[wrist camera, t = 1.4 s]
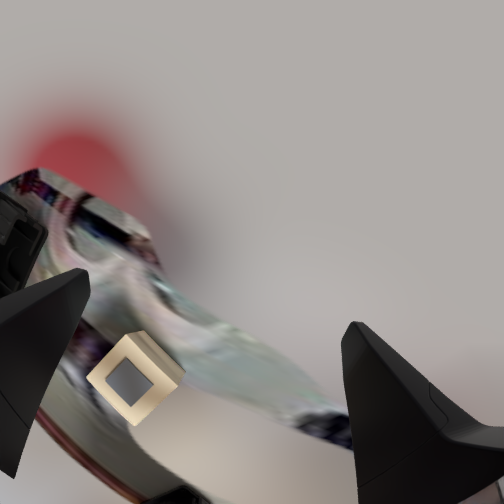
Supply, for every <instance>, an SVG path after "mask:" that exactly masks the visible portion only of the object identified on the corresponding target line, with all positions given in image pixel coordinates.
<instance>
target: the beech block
mask: <svg viewBox="0 0 504 504" xmlns="http://www.w3.org/2000/svg"><path fill="white" fill-rule="evenodd" d="M184 374H185V371H184V370H183V369H182V368H181V367H180V366H179V365H178V364H177V363H176V362H175V361H174V360H173V359H172V358H171V357H170V356H169V355H168V354H167V353H165V352H164V351H163V350H162V349H161V348H160V347H159V346H158V345H157V344H156V343H155V341H154V340H153V339H152V338H151V337H150V336H149V335H148V334H147V333H146V332H145V331H144V330H143V331H138V332H133V333H129V334H126V335H125V336H124V337H123V338H122V339H121V340H120V341H119V342H118V343H117V344H116V345H115V346H114V347H113V349H112V350H111V351H110V352H109V353H108V354H107V355H106V356H105V357H104V358H103V359H102V360H101V362H100V363H99V364H98V365H97V366H96V367H95V368H94V369H93V370H92V372H91V373H90V374H89V375H88V376H87V377H86V378H87V379H88V380H89V382H90V383H91V384H92V385H93V386H94V387H95V388H96V389H97V390H98V392H99V393H100V394H101V395H102V396H103V397H104V398H105V399H106V400H107V401H108V402H109V403H110V404H111V405H112V406H113V407H114V408H115V409H116V410H117V411H118V412H119V413H120V414H121V415H122V416H123V417H124V418H125V419H126V420H127V421H129V422H130V423H131V424H132V425H133V426H134V427H135V426H136V425H137V424H138V423H139V422H140V421H142V420H143V419H144V418H145V417H146V416H147V415H148V414H149V413H150V412H151V411H152V410H153V409H154V408H155V407H156V406H157V405H158V404H160V403H161V402H162V401H163V400H164V399H165V398H166V397H167V396H168V395H169V394H170V393H171V392H172V391H173V390H174V389H175V388H176V387H177V386H178V385H179V383H180V381H181V379H182V378H183V376H184Z"/></svg>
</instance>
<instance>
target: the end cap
mask: <svg viewBox="0 0 504 504" xmlns="http://www.w3.org/2000/svg"><path fill="white" fill-rule="evenodd" d="M27 212H28V210H27V209H25V208H24V207H23V206H21V205H20V204H19V203H17V202H16V201H15V200H13V199H12V198H10V197H9V196H8V195H6V194H5V193H3V192H2V191H1V190H0V299H1V298H3V297H5V296H8V295H10V294H12V293H15V292H17V291H19V290H22V289H24V288H25V285H26V283H27V280H28V278H29V275H30V273H31V271H32V268H33V266H34V264H35V262H36V259H37V257H38V255H39V253H40V251H41V249H42V247H43V245H44V243H45V241H46V239H47V236H48V230H47V229H46V228H44V227H43V226H41V225H40V224H39V223H38V221H36V220H35V219H34V218H32V217H31V216H30V215H28V214H27Z"/></svg>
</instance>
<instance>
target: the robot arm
mask: <svg viewBox="0 0 504 504" xmlns="http://www.w3.org/2000/svg"><path fill="white" fill-rule="evenodd" d="M90 292H91V290H90V282H89V274H88V272H87V270H84V269H80V268H75V269H72V270H70V271H67V272H65V273H62V274H59V275H57V276H54V277H52V278H49V279H47V280H44V281H42V282H39V283H37V284H34V285H32V286H29V287H27V288H24V289H22V290H19V291H17V292H15V293H12V294H10V295H8V296H5V297H3V298H1V299H0V470H1V471H2V472H4V473H6V474H7V475H8V476H10V477H11V478H13V479H14V478H15V476H16V472H17V469H18V465H19V462H20V459H21V455H22V452H23V449H24V446H25V443H26V440H27V437H28V435H29V431H30V428H31V426H32V423H33V421H34V418H35V415H36V413H37V410H38V408H39V405H40V403H41V401H42V398H43V396H44V394H45V391H46V389H47V387H48V385H49V382H50V380H51V378H52V376H53V374H54V372H55V369H56V367H57V365H58V363H59V361H60V359H61V357H62V355H63V353H64V351H65V349H66V347H67V345H68V343H69V342H70V340H71V338H72V336H73V334H74V332H75V330H76V327H77V325H78V323H79V320H80V318H81V315H82V313H83V311H84V308H85V306H86V304H87V302H88V299H89V297H90ZM341 351H342V366H343V381H344V388H345V394H346V400H347V407H348V413H349V420H350V427H351V435H352V442H353V450H354V459H355V468H356V477H357V487H358V489H357V490H358V503H359V504H504V427H493V426H487V425H484V424H481V423H480V422H478V421H477V420H475V419H474V418H473V417H472V416H470V415H469V414H468V413H467V412H465V411H464V410H463V409H461V408H460V407H459V406H458V405H456V404H455V403H454V402H453V401H451V400H450V399H449V398H448V397H447V396H445V395H444V394H443V393H442V392H441V391H440V390H439V389H437V388H436V387H435V386H434V385H433V384H432V383H431V382H429V381H428V380H427V379H426V378H425V377H424V376H423V375H422V374H421V373H420V372H418V371H417V370H416V369H415V368H414V367H413V366H412V365H411V364H410V363H408V362H407V361H406V360H405V359H404V358H403V357H402V356H401V355H400V354H398V353H397V352H396V351H395V350H394V349H393V348H392V347H391V346H389V345H388V344H387V343H386V342H385V341H384V340H383V339H381V338H380V337H379V336H378V335H377V334H376V333H375V332H373V331H372V330H371V329H370V328H369V327H368V326H367V325H365V324H364V323H363V322H356V321H353V322H351V323H350V325H349V326H348V328H347V330H346V332H345V334H344V336H343V338H342V341H341ZM183 490H186V491H183ZM141 504H209V503H208V502H206V501H205V500H204V499H203V498H200V497H199V496H197V495H196V494H195V493H194V492H193V491H191V490H190V489H189V488H188V487H186V486H180V487H178V488H175V489H173V490H171V491H169V492H167V493H164V494H162V495H160V496H157V497H155V498H152V499H150V500H147V501H145V502H142V503H141Z"/></svg>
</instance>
